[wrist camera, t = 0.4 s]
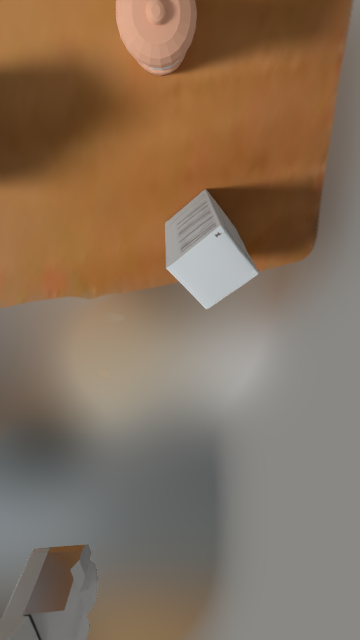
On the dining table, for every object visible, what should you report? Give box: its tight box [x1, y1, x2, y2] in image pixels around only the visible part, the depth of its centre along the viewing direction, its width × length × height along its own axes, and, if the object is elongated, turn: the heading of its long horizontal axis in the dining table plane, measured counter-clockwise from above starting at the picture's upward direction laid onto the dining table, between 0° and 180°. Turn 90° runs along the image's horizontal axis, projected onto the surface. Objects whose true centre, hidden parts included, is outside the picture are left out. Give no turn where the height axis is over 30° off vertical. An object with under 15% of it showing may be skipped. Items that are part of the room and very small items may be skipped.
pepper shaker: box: [116, 0, 197, 76], centre depth 33 cm, size 7×7×19 cm
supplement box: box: [165, 189, 259, 309], centre depth 49 cm, size 10×9×17 cm
